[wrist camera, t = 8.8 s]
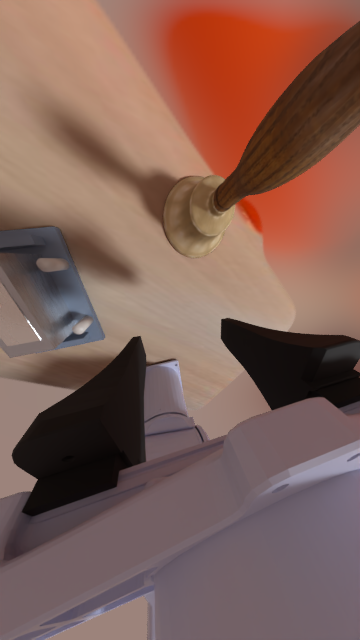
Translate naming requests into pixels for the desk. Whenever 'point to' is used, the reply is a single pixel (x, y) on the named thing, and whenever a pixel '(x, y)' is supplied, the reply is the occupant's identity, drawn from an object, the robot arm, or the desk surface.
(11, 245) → the grey peg stand
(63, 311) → the block
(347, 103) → the hand bell
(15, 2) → the desk surface
